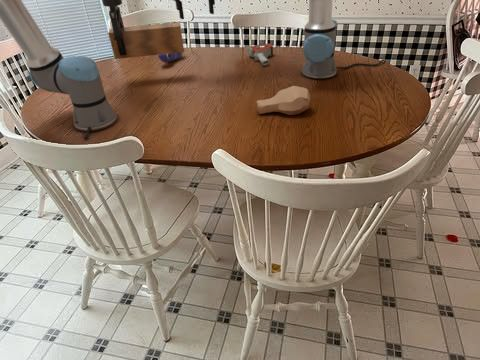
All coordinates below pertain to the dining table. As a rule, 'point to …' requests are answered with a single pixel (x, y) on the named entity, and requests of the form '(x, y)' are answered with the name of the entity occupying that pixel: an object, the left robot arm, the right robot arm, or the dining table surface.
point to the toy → (169, 57)
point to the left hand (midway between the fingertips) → (124, 52)
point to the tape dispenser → (261, 53)
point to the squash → (286, 101)
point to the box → (149, 40)
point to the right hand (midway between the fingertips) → (197, 16)
